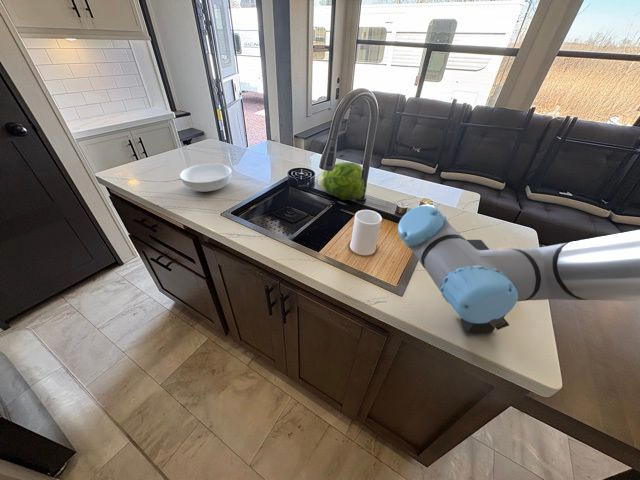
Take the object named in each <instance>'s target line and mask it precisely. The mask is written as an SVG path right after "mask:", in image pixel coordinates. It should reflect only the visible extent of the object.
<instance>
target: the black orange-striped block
mask: <svg viewBox="0 0 640 480" xmlns="http://www.w3.org/2000/svg"><path fill="white" fill-rule="evenodd" d="M503 317H504V318H505V317H506V315H504V316H503ZM460 322H461V324H462V326H463V328H464V329H465V331H466V333H467V334H481V333H482V334H483V333H484V334H487V333H488V334H490V333H493V331H494V330H495V329H496V328H495V327H493V326H491V324H490V323H489V322H488V323H480V324H477V323H471V322H468V321H466V320H464V319H462V318H461V319H460Z"/></svg>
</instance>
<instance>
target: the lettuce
mask: <svg viewBox="0 0 640 480" xmlns="http://www.w3.org/2000/svg"><path fill="white" fill-rule="evenodd" d="M334 163H335V166H334V169H333V171H325V169H324V170H323V171H322V172H321V173H320V175H319V177H318V178H317V183H318V186H319V187H320V188H321V189H322V190H324V191H326V192H327V193H328V194H329V195H330V196H332V195H333V196H332V197H334V196H335V197H334V198H337V197H338V199H340V200H342V201H353V200H360V199H361V198H363V196H365V194H364V189H365V193H366V192H367V188H368V182H367V183H366V188H365V187H364V180H363V179H361V176H362V169H364V167H362V165H360V164H359V163H356V162H351V161H343V162H334Z"/></svg>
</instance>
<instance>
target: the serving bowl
mask: <svg viewBox="0 0 640 480" xmlns="http://www.w3.org/2000/svg"><path fill="white" fill-rule="evenodd" d="M232 171H233V170H232V168H231V167H230V166H229V165H226V164H222V163H216V162H214V163H213V162H212V163H201V164H196V165H192V166H189V167H187V168H185V169H183V170H182V171H181V172H180V174H179V178H180V180H181V182H182V184H183V185H185V186H186V187H187V188H188V189H190V190H193V191H196V192H212V191H213V192H214V191H218V190H220V189H223V188H224V187H226V186H227V185H228V184H229V183H230V181H231V179H232V175H233V174H232V173H233V172H232Z"/></svg>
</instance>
